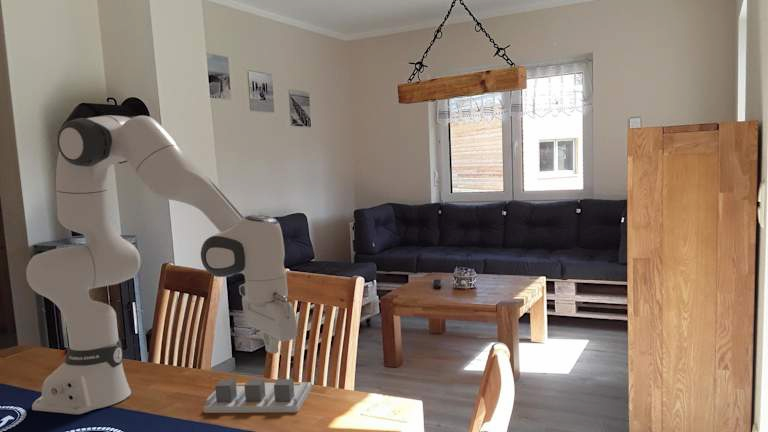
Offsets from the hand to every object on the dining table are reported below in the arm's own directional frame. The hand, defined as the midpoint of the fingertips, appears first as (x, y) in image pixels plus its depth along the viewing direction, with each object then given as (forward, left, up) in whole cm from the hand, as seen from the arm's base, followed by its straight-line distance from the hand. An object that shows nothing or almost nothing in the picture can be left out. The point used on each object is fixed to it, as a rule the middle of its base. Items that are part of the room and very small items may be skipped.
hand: (272, 352), depth 132 cm
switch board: (-7, +10, -15) cm, 20 cm away
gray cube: (-14, +7, -14) cm, 21 cm away
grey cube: (0, +7, -14) cm, 15 cm away
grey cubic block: (-7, +7, -14) cm, 17 cm away
